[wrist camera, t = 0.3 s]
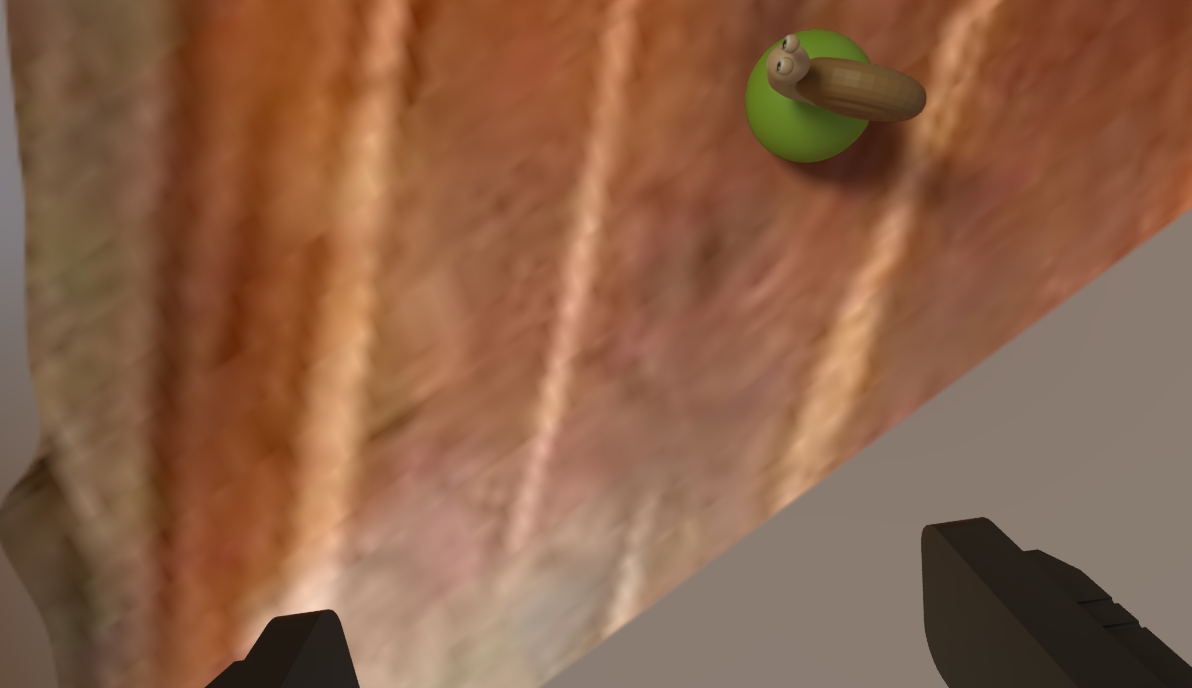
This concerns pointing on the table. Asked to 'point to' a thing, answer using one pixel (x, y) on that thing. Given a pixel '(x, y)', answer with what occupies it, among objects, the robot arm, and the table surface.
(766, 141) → the snail figurine
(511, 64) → the table surface
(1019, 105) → the table surface
